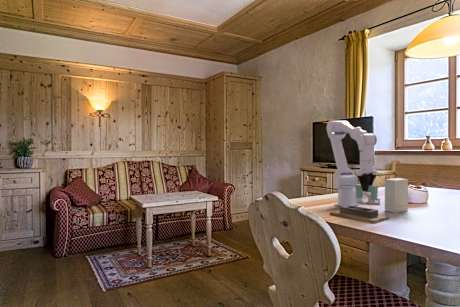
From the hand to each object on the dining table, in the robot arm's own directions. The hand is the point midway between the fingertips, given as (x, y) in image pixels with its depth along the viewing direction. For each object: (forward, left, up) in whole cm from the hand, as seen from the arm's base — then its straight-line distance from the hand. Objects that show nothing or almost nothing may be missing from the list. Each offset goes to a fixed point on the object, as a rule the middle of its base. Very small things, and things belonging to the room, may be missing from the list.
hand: (366, 190), depth 139 cm
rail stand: (+10, +2, -10) cm, 14 cm away
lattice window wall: (-21, -11, -10) cm, 26 cm away
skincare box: (-13, +7, -10) cm, 18 cm away
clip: (0, 0, -4) cm, 4 cm away
